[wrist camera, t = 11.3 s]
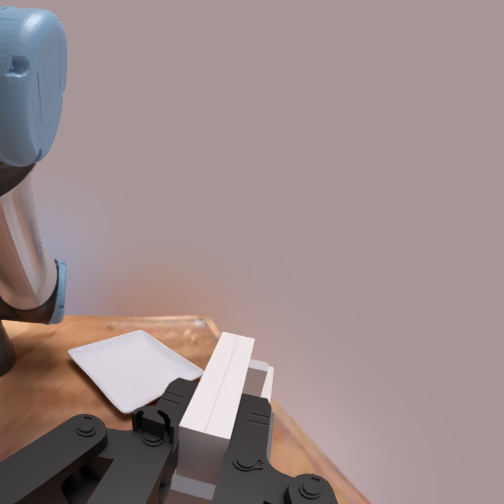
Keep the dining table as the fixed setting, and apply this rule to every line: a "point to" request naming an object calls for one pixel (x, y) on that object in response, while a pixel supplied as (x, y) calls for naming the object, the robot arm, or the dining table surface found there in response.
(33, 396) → the dining table surface
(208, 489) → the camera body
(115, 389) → the salad plate
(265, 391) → the side cover
